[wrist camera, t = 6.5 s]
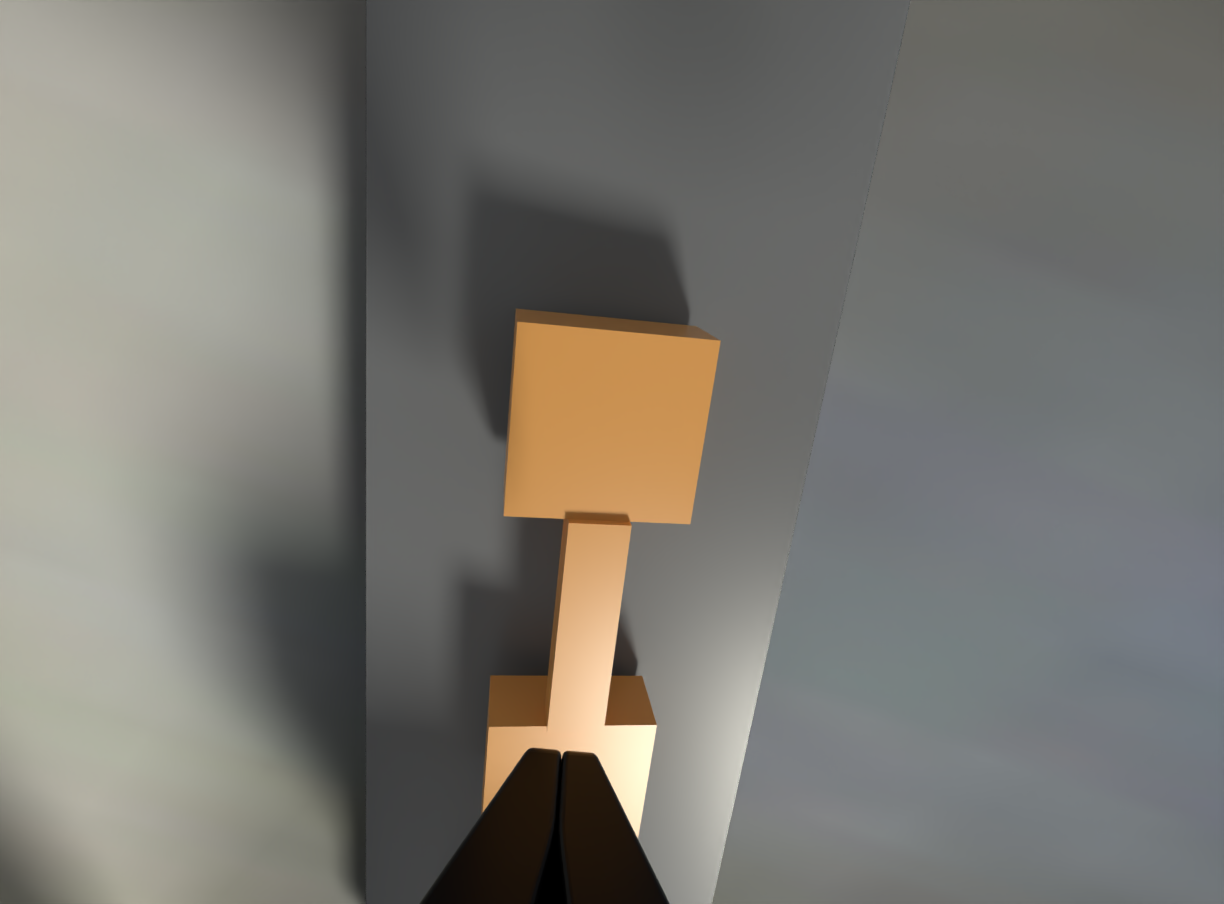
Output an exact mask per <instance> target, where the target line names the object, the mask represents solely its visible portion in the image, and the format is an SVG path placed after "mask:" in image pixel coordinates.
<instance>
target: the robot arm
mask: <svg viewBox="0 0 1224 904" xmlns="http://www.w3.org/2000/svg"><path fill="white" fill-rule="evenodd" d="M419 904H670V903H669V901H668V899H667V897H666V895H665V893H664V891H663V889H662V887H661V885H660V883H659V881H658V879H657V877H656V875H655V873H654V870H653V868H652V866H651V864H650V862H649V860H648V858H647V856H646V854H645V852H644V850H643V848H642V846H641V844H640V842H639V840H638V838H637V836H636V834H635V832H634V830H633V828H632V826H631V824H630V822H629V819H628V817H627V815H626V813H625V811H624V809H623V807H622V805H621V803H620V801H619V799H618V797H617V795H616V793H615V791H614V789H613V787H612V785H611V783H610V781H609V779H608V777H607V775H606V773H605V771H604V769H603V766H602V764H601V762H600V760H599V759H598V757H597V756H596V755H595V754H594V753H591V752H579V751H565V752H564V753H563V755H562V759H561V753H560V751H558V750H556V749H544V748H530V749H528V750H527V751H526V752H525V753H524V754H523V756H522V757H521V759H520V760H519V762H518V763H517V764H516V766H515V767H514V769H513V770H512V772H511V773H510V774H509V776H508V777H507V779H506V780H505V782H504V783H503V784H502V786H501V787H500V789H499V790H498V792H497V793H496V794H495V796H494V797H493V799H492V800H491V802H490V803H489V804H488V806H487V807H486V809H485V810H484V812H483V813H482V814H481V816H480V817H479V819H478V820H477V822H476V823H475V824H474V826H473V827H472V829H471V830H470V832H469V833H468V834H467V836H466V837H465V839H464V840H463V842H462V843H461V844H460V846H459V847H458V849H457V850H456V852H455V853H454V854H453V856H452V857H451V859H450V860H449V862H448V863H447V864H446V866H445V867H444V869H443V870H442V872H441V873H440V874H439V876H438V877H437V879H436V880H435V882H434V883H433V884H432V886H431V887H430V889H429V890H428V892H427V893H426V894H425V896H424V897H423V899H422V900H421V902H420V903H419Z"/></svg>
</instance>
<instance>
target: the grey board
mask: <svg viewBox="0 0 1224 904" xmlns="http://www.w3.org/2000/svg"><path fill="white" fill-rule="evenodd" d="M910 1H911V0H366V904H419V903H420V902H421V900H422V899H423V897H424V896H425V894H426V893H427V892H428V890H429V889H430V887H431V886H432V884H433V883H434V882H435V880H436V879H437V877H438V876H439V874H440V873H441V872H442V870H443V869H444V867H445V866H446V864H447V863H448V862H449V860H450V859H451V857H452V856H453V854H454V853H455V852H456V850H457V849H458V847H459V846H460V844H461V843H462V842H463V840H464V839H465V837H466V836H467V834H468V833H469V832H470V830H471V829H472V827H473V826H474V824H475V823H476V822H477V820H478V819H479V817H480V816H481V808H482V789H483V775H484V760H485V746H486V731H487V717H488V702H489V688H490V675H516V676H548V668H549V658H550V648H551V638H552V628H553V619H554V609H555V599H556V589H557V579H558V569H559V559H560V549H561V539H562V530H563V520H564V519H556V518H533V517H510V516H504V471H505V457H506V443H507V428H508V414H509V399H510V385H511V370H512V356H513V341H514V327H515V313H516V309H526V310H536V311H547V312H557V313H567V314H578V315H588V316H598V317H608V318H619V319H629V320H639V321H650V322H660V323H670V324H680V325H691V326H697V327H698V328H700V329H702V330H704V331H705V332H707V333H709V334H710V335H712V336H714V337H715V338H717V339H719V340H720V341H721V342H720V348H719V354H718V360H717V366H716V372H715V378H714V384H713V390H712V396H711V402H710V408H709V415H708V421H707V427H706V433H705V439H704V445H703V451H702V457H701V463H700V469H699V475H698V481H697V487H696V493H695V499H694V505H693V511H692V517H691V523H690V524H672V523H649V522H630V523H631V525H632V527H631V535H630V542H629V549H628V557H627V564H626V571H625V579H624V586H623V593H622V601H621V608H620V615H619V623H618V630H617V637H616V645H615V652H614V659H613V667H612V674H611V676H642V677H643V680H644V683H645V687H646V690H647V693H648V697H649V700H650V703H651V707H652V710H653V714H654V717H655V720H656V724H657V727H656V734H655V740H654V746H653V752H652V758H651V764H650V770H649V776H648V782H647V788H646V794H645V800H644V806H643V812H642V818H641V824H640V830H639V836H638V840H639V842H640V844H641V846H642V848H643V850H644V852H645V854H646V856H647V858H648V860H649V862H650V864H651V866H652V868H653V870H654V873H655V875H656V877H657V879H658V881H659V883H660V885H661V887H662V889H663V891H664V893H665V895H666V897H667V899H668V901H669V903H670V904H712V901H713V896H714V892H715V887H716V883H717V878H718V874H719V869H720V865H721V860H722V856H723V851H724V846H725V842H726V837H727V833H728V828H729V824H730V819H731V815H732V810H733V806H734V801H735V796H736V792H737V787H738V783H739V778H740V774H741V769H742V765H743V760H744V756H745V751H746V746H747V742H748V737H749V733H750V728H751V724H752V719H753V715H754V710H755V706H756V701H757V696H758V692H759V687H760V683H761V678H762V674H763V669H764V665H765V660H766V655H767V651H768V646H769V642H770V637H771V633H772V628H773V624H774V619H775V615H776V610H777V605H778V601H779V596H780V592H781V587H782V583H783V578H784V574H785V569H786V565H787V560H788V555H789V551H790V546H791V542H792V537H793V533H794V528H795V524H796V519H797V515H798V510H799V505H800V501H801V496H802V492H803V487H804V483H805V478H806V474H807V469H808V464H809V460H810V455H811V451H812V446H813V442H814V437H815V433H816V428H817V424H818V419H819V414H820V410H821V405H822V401H823V396H824V392H825V387H826V383H827V378H828V374H829V369H830V364H831V360H832V355H833V351H834V346H835V342H836V337H837V333H838V328H839V324H840V319H841V314H842V310H843V305H844V301H845V296H846V292H847V287H848V283H849V278H850V273H851V269H852V264H853V260H854V255H855V251H856V246H857V242H858V237H859V233H860V228H861V223H862V219H863V214H864V210H865V205H866V201H867V196H868V192H869V187H870V183H871V178H872V173H873V169H874V164H875V160H876V155H877V151H878V146H879V142H880V137H881V133H882V128H883V123H884V119H885V114H886V110H887V105H888V101H889V96H890V92H891V87H892V82H893V78H894V73H895V69H896V64H897V60H898V55H899V51H900V46H901V42H902V37H903V32H904V28H905V23H906V19H907V14H908V10H909V5H910Z"/></svg>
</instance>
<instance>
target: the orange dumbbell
mask: <svg viewBox="0 0 1224 904" xmlns="http://www.w3.org/2000/svg"><path fill="white" fill-rule="evenodd" d="M720 342H721V341H720V340H719V339H717V338H715V337H714V336H712V335H710V334H709V333H707V332H705V331H704V330H702V329H700V328H698V327H697V326H691V325H680V324H670V323H660V322H650V321H639V320H629V319H619V318H608V317H598V316H588V315H578V314H567V313H557V312H547V311H536V310H526V309H516V313H515V327H514V341H513V356H512V370H511V385H510V399H509V414H508V428H507V443H506V457H505V471H504V516H510V517H533V518H556V519H564V520H563V530H562V539H561V549H560V559H559V569H558V579H557V589H556V599H555V609H554V619H553V628H552V638H551V648H550V658H549V668H548V676H516V675H490V688H489V702H488V717H487V731H486V746H485V760H484V775H483V789H482V808H481V814H482V813H483V812H484V810H485V809H486V807H487V806H488V804H489V803H490V802H491V800H492V799H493V797H494V796H495V794H496V793H497V792H498V790H499V789H500V787H501V786H502V784H503V783H504V782H505V780H506V779H507V777H508V776H509V774H510V773H511V772H512V770H513V769H514V767H515V766H516V764H517V763H518V762H519V760H520V759H521V757H522V756H523V754H524V753H525V752H526V751H527V750H528V749H530V748H544V749H556V750H558V751H560V753H561V759H562V755H563V753H564V752H565V751H579V752H591V753H594V754H595V755H596V756H597V757H598V759H599V760H600V762H601V764H602V766H603V769H604V771H605V773H606V775H607V777H608V779H609V781H610V783H611V785H612V787H613V789H614V791H615V793H616V795H617V797H618V799H619V801H620V803H621V805H622V807H623V809H624V811H625V813H626V815H627V817H628V819H629V822H630V824H631V826H632V828H633V830H634V832H635V834H636V836H637V838H638V836H639V830H640V824H641V818H642V812H643V806H644V800H645V794H646V788H647V782H648V776H649V770H650V764H651V758H652V752H653V746H654V740H655V734H656V727H657V724H656V720H655V717H654V714H653V710H652V707H651V703H650V700H649V697H648V693H647V690H646V687H645V683H644V680H643V677H642V676H611V674H612V667H613V659H614V652H615V645H616V637H617V630H618V623H619V615H620V608H621V601H622V593H623V586H624V579H625V571H626V564H627V557H628V549H629V542H630V535H631V527H632V525H631V523H630V522H649V523H672V524H690V523H691V517H692V511H693V505H694V499H695V493H696V487H697V481H698V475H699V469H700V463H701V457H702V451H703V445H704V439H705V433H706V427H707V421H708V415H709V408H710V402H711V396H712V390H713V384H714V378H715V372H716V366H717V360H718V354H719V348H720Z"/></svg>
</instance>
